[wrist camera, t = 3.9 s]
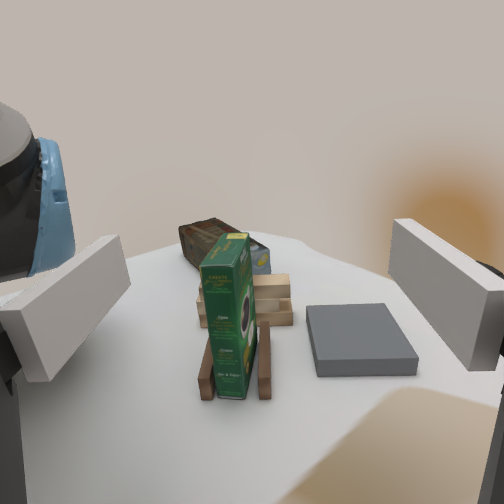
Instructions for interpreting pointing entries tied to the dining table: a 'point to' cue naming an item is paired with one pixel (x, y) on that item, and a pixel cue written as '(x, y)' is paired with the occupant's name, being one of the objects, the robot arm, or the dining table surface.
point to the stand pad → (358, 341)
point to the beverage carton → (206, 236)
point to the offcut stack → (263, 300)
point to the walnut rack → (264, 367)
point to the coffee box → (230, 312)
